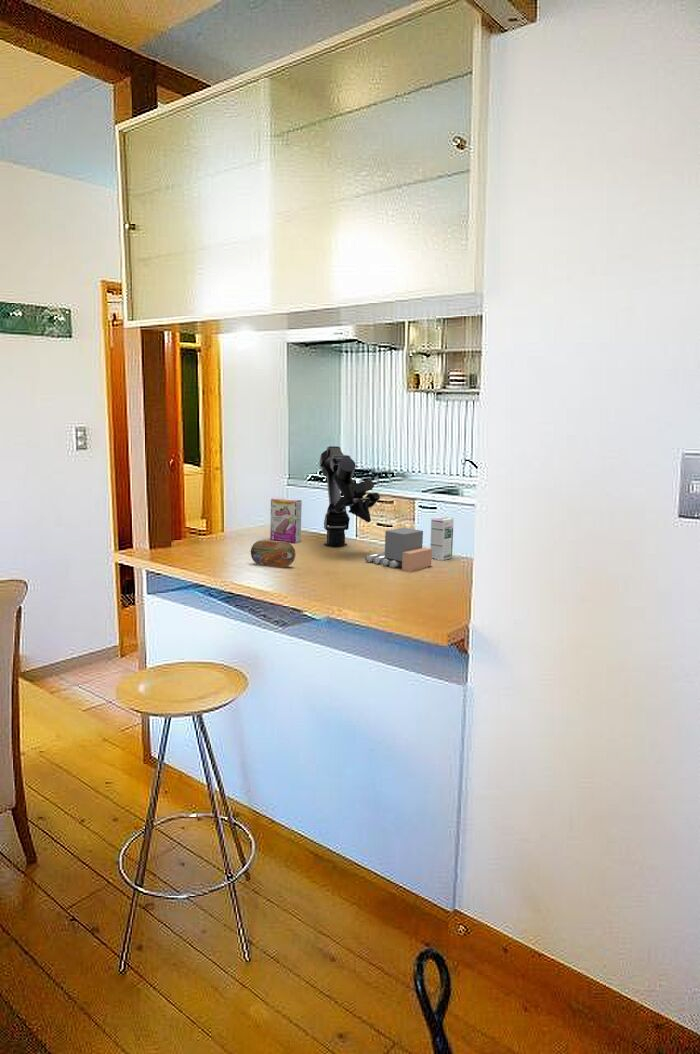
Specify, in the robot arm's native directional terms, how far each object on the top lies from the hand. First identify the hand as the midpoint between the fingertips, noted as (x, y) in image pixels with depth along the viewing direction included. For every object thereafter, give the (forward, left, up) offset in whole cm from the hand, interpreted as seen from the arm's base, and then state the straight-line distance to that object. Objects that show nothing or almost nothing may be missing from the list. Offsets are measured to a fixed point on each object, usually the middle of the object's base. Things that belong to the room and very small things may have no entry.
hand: (369, 521), depth 243 cm
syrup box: (+17, +20, -13) cm, 29 cm away
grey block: (+15, +1, -10) cm, 18 cm away
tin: (-13, -32, -13) cm, 37 cm away
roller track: (+10, +1, -13) cm, 16 cm away
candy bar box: (-41, -1, -13) cm, 44 cm away
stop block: (+20, +1, -13) cm, 24 cm away
